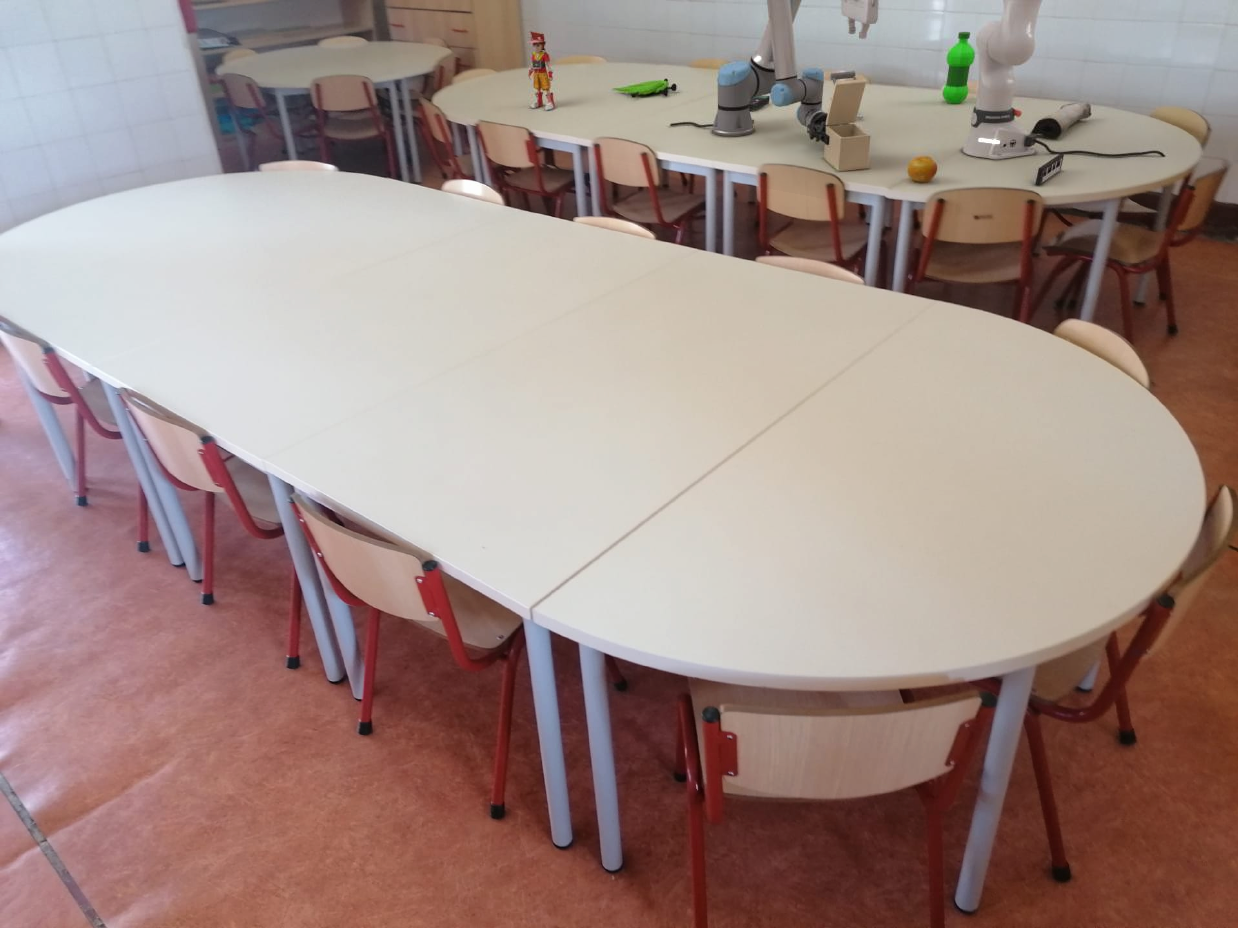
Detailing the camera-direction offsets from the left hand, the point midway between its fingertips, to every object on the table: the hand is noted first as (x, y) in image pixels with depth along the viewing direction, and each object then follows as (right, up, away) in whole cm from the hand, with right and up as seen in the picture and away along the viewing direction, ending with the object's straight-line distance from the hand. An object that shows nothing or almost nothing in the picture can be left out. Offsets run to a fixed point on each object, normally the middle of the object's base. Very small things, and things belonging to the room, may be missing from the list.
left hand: (843, 139), depth 296 cm
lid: (-1, +9, -6) cm, 11 cm away
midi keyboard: (+57, -20, -21) cm, 64 cm away
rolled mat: (+82, +11, +21) cm, 86 cm away
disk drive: (-21, +39, +70) cm, 83 cm away
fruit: (+20, -19, -17) cm, 33 cm away
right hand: (-1, +24, -21) cm, 32 cm away
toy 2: (-65, +57, +101) cm, 133 cm away
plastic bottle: (+58, +36, +59) cm, 90 cm away
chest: (+1, -8, +1) cm, 8 cm away
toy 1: (-107, +45, +87) cm, 145 cm away
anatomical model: (+13, +26, +49) cm, 57 cm away
